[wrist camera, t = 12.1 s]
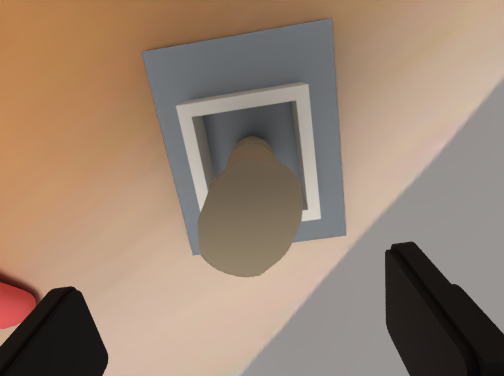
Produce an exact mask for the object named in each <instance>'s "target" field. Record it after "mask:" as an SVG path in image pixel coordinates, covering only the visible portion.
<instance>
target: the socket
mask: <svg viewBox="0 0 504 376" xmlns="http://www.w3.org/2000/svg"><path fill="white" fill-rule="evenodd" d="M142 56H143V60H144V64H145V68H146V72H147V76H148V80H149V84H150V88H151V92H152V96H153V100H154V104H155V108H156V112H157V116H158V120H159V123H160V127H161V131H162V135H163V139H164V143H165V147H166V151H167V155H168V159H169V163H170V167H171V171H172V175H173V179H174V183H175V187H176V191H177V195H178V198H179V202H180V206H181V210H182V214H183V218H184V222H185V226H186V230H187V234H188V238H189V242H190V246H191V250H192V254H193V255H200V254H201V252H200V246H199V239H198V220H199V216H200V213H201V210H202V207H203V205H204V202H205V199H206V197H207V194H208V191H209V189H210V186H211V184H212V182H213V181H214V180H215V179H216V178H217V177H218V176H219V175H220V174H221V173H222V172H223V171H224V170H225V169H226V164H227V161H228V158H229V155H230V153H231V151H232V149H233V148H234V146H235V145H236V144H237V143H238V142H239V141H240V140H242V139H244V138H246V137H247V136H248V135H249V134H254V136H256V137H259V138H261V139H263V138H264V139H265V140H266V141H267V142H268V144H269V145H270V147H271V148H272V150H273V152H274V154H275V157H276V161H278V162H280V163H282V164H284V165H285V166H287V167H288V168H290V170H291V171H292V172H293V173H294V174H295V175H296V177H297V178H298V180H299V181H300V183H301V186H302V220H301V224H300V227H299V229H298V232H297V234H296V236H295V238H294V240H293V242H300V241H308V240H315V239H323V238H331V237H338V236H346V223H345V208H344V193H343V178H342V163H341V148H340V133H339V118H338V103H337V88H336V73H335V58H334V43H333V28H332V18H330V19H325V20H319V21H313V22H308V23H302V24H296V25H291V26H285V27H279V28H274V29H268V30H262V31H257V32H251V33H245V34H240V35H234V36H228V37H223V38H217V39H211V40H206V41H200V42H194V43H189V44H183V45H177V46H172V47H166V48H160V49H155V50H149V51H143V52H142Z"/></svg>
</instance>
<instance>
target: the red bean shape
mask: <svg viewBox="0 0 504 376" xmlns="http://www.w3.org/2000/svg"><path fill="white" fill-rule="evenodd" d="M35 307H36V301H35V298H34V296H33V295H32V294H30V293H29V292H27V291H24V290H22V289H19V288H16V287H13V286H11V285H8V284H5V283H2V282H0V329H5V328H8V327H12V326H15V325H17V324H19V323H21V322H23V320H24V319H25V318H26V317H27V316H28V315H29V314H30V313H31V311H32V310H33V309H34V308H35Z"/></svg>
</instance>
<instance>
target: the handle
mask: <svg viewBox="0 0 504 376" xmlns="http://www.w3.org/2000/svg"><path fill="white" fill-rule="evenodd" d="M301 220H302V186H301V183H300V181H299V180H298V178H297V177H296V175H295V174H294V173H293V172H292V171H291V170H290V168H288V167H287V166H285V165H284V164H282V163H280V162H278V161H276V157H275V154H274V152H273V150H272V148H271V147H270V145H269V144H268V142H267V141H266V140H265V139H264V138H263V139H261V138H259V137H256V136H254V134H249V135H248V136H247V137H246V138H244V139H242V140H240V141H239V142H238V143H237V144H236V145H235V146H234V148H233V149H232V151H231V153H230V155H229V158H228V161H227V164H226V169H225V170H224V171H223V172H222V173H221V174H220V175H219V176H218V177H217V178H216V179H215V180H214V181H213V182H212V184H211V186H210V189H209V191H208V194H207V197H206V199H205V202H204V205H203V207H202V210H201V213H200V216H199V220H198V239H199V246H200V252H201V256H202V257H203V258H204V260H205V261H206V262H207V263H209V264H210V265H211V266H212V267H214V268H216V269H217V270H219V271H222V272H224V273H227V274H230V275H234V276H239V277H254V276H260V275H261V274H262V273H264V272H265V271H266V270H268V269H269V268H270V267H272V266H273V265H274V264H275V263H277V262H278V261H279V260H280V259H281V258H282V257H283V256H284V255H285V254H286V252H287V251H288V249H289V248H290V246H291V244H292V242H293V240H294V238H295V236H296V234H297V232H298V229H299V227H300V224H301Z"/></svg>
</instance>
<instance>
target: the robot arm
mask: <svg viewBox="0 0 504 376" xmlns="http://www.w3.org/2000/svg"><path fill="white" fill-rule="evenodd" d="M385 286H386V325H387V329H388V332H389V334H390V336H391V338H392V341H393V343H394V345H395V347H396V349H397V350H398V353H399V355H400V357H401V358H402V361H403V363H404V365H405V367H406V369H407V371H408V373H409V375H410V376H504V334H503V333H502V332H501V331H500V330H499V328H498V327H497V326H496V325H495V324H494V323H493V322H492V321H491V320H490V319H489V318H488V316H487V315H486V314H485V313H484V312H483V311H482V310H481V309H480V308H479V307H478V306H477V304H476V303H475V302H474V301H473V300H472V299H471V298H470V297H469V296H468V295H467V293H466V292H465V291H464V290H463V289H462V288H461V287H459V286H458V285H456V284H451V283H450V282H449V281H448V280H447V279H446V278H445V277H444V275H443V274H442V273H441V272H440V271H439V270H438V269H437V267H436V266H435V265H434V264H433V263H432V262H431V261H430V260H429V259H428V257H427V256H426V255H425V254H424V253H423V252H422V250H421V249H420V248H419V247H418V246H417V245H416V244H415V243H414V242H406V243H398V244H392V246H391V249H390V250H386V252H385ZM107 364H108V353H107V351H106V348H105V346H104V344H103V341H102V339H101V337H100V334H99V332H98V330H97V327H96V325H95V323H94V320H93V318H92V316H91V313H90V311H89V309H88V306H87V304H86V302H85V300H84V297H83V295H82V293H81V292H80V291H78V290H76V288H74V287H71V286H70V287H62V288H55V289H52V290H50V291H49V292H48V293H47V295H46V296H45V297H44V298H43V299H42V300H41V301H40V302H39V304H38V305H37V306H36V307H35V308H34V309H33V310H32V311H31V313H30V314H29V315H28V316H27V317H26V318H25V319H24V320H23V322H22V323H21V324H20V325H19V326H18V327H17V328H16V329H15V331H14V332H13V333H12V334H11V335H10V336H9V337H8V339H7V340H6V341H5V342H4V343H3V344H2V345H1V346H0V376H102V375H103V373H104V371H105V369H106V367H107Z"/></svg>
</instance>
